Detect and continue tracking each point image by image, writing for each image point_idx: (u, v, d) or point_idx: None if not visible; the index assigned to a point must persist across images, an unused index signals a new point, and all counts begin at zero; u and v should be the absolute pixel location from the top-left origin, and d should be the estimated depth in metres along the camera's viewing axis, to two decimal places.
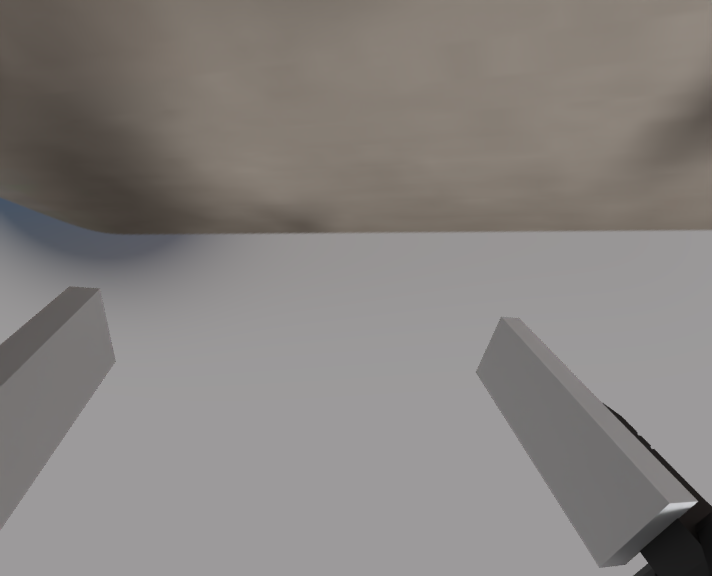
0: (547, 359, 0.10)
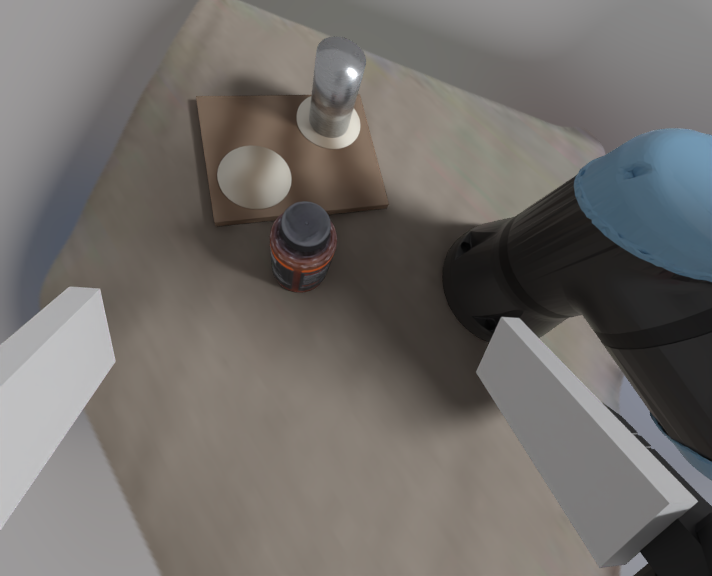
0: (547, 359, 0.10)
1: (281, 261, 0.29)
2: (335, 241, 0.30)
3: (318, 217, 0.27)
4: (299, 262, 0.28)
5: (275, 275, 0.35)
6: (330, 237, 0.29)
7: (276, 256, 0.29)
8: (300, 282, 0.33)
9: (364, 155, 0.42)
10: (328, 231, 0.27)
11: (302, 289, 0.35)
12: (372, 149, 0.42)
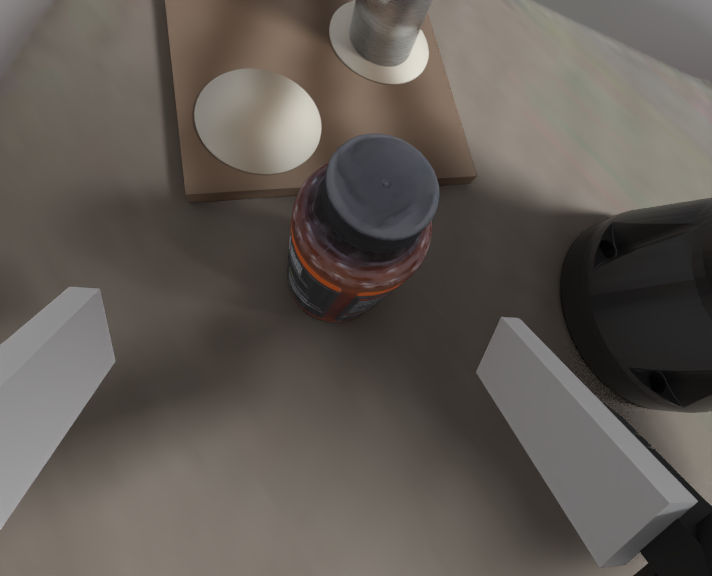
0: (547, 359, 0.10)
1: (318, 271, 0.13)
2: (431, 231, 0.14)
3: (412, 170, 0.11)
4: (358, 276, 0.13)
5: (294, 293, 0.19)
6: None
7: (305, 261, 0.13)
8: (343, 310, 0.17)
9: (436, 97, 0.26)
10: (435, 205, 0.11)
11: (342, 319, 0.19)
12: (447, 89, 0.27)
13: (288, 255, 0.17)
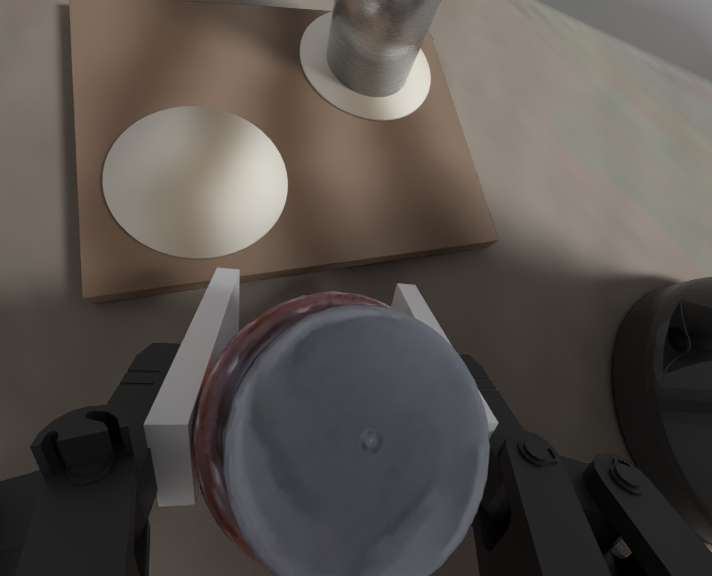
0: (422, 316, 0.11)
1: None
2: None
3: (428, 393, 0.05)
4: None
5: None
6: None
7: None
8: None
9: (442, 135, 0.20)
10: (483, 473, 0.05)
11: None
12: (456, 124, 0.20)
13: None
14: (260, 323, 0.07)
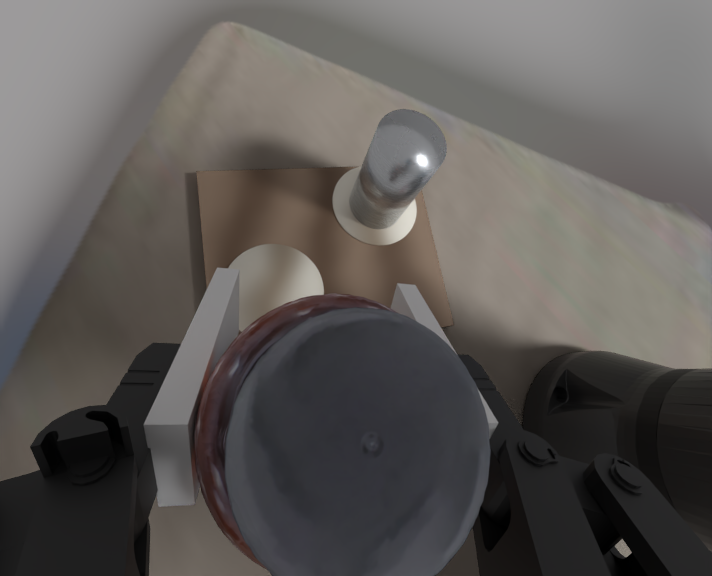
0: (422, 316, 0.11)
1: None
2: None
3: (430, 396, 0.05)
4: None
5: None
6: None
7: None
8: None
9: (422, 253, 0.31)
10: (484, 476, 0.05)
11: None
12: (432, 244, 0.31)
13: None
14: (261, 325, 0.07)
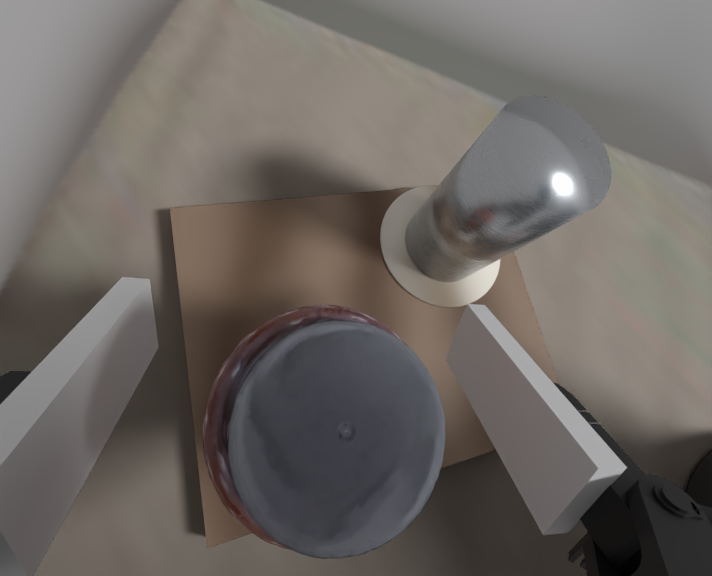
0: (505, 342, 0.11)
1: None
2: None
3: (394, 392, 0.06)
4: None
5: None
6: None
7: None
8: None
9: (514, 313, 0.21)
10: (439, 458, 0.06)
11: None
12: (526, 298, 0.21)
13: None
14: (259, 334, 0.08)
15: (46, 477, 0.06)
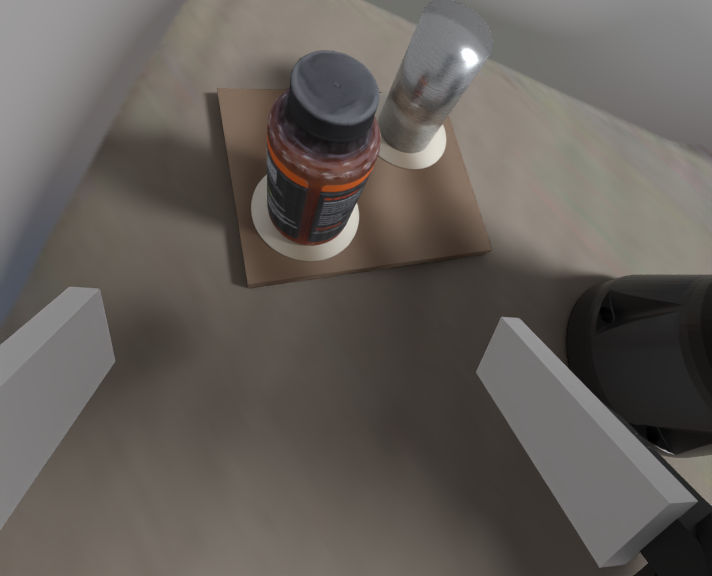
0: (547, 359, 0.10)
1: (288, 166, 0.16)
2: (379, 139, 0.17)
3: (357, 77, 0.15)
4: (320, 166, 0.16)
5: (273, 215, 0.22)
6: (372, 130, 0.17)
7: (278, 159, 0.16)
8: (314, 220, 0.20)
9: (454, 178, 0.30)
10: (376, 103, 0.15)
11: (314, 238, 0.23)
12: (463, 170, 0.30)
13: None
14: None
15: None
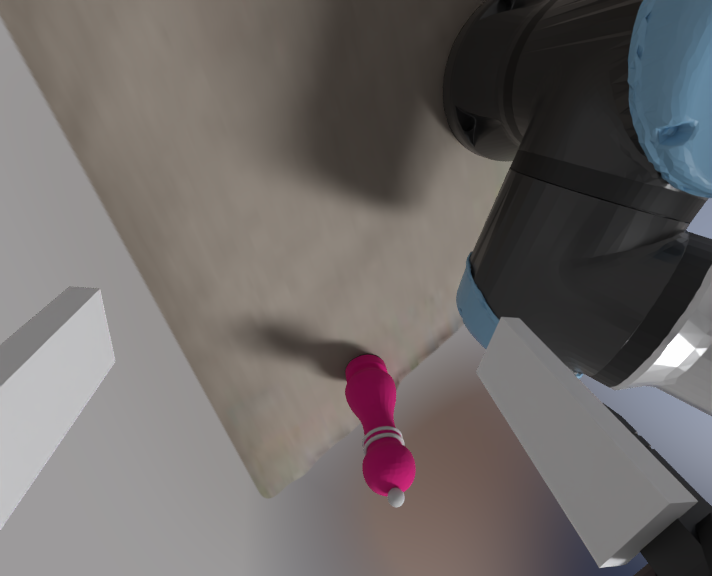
0: (547, 359, 0.10)
1: None
2: None
3: None
4: None
5: None
6: None
7: None
8: None
9: None
10: None
11: None
12: None
13: None
14: None
15: None
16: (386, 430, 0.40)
